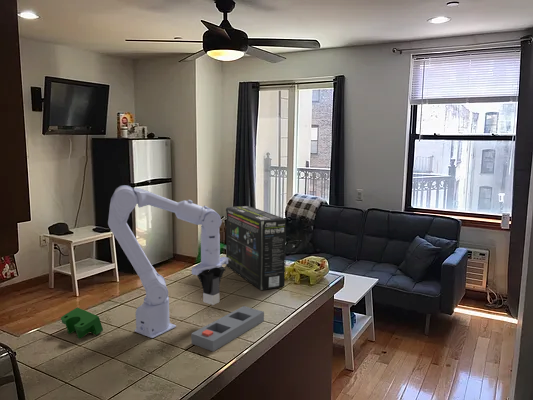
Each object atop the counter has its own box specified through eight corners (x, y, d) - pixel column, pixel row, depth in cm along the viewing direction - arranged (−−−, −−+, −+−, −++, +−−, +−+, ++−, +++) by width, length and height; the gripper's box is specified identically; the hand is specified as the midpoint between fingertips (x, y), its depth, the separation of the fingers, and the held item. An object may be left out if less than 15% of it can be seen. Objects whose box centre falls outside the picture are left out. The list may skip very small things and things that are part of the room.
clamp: (71, 345, 131) (56, 318, 130) (89, 333, 135) (74, 307, 135) (88, 342, 123) (72, 314, 122) (106, 330, 127) (91, 303, 127)
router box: (286, 287, 169) (287, 218, 165) (261, 291, 164) (261, 221, 159) (247, 262, 200) (247, 204, 196) (224, 265, 195) (224, 206, 191)
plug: (213, 305, 134) (212, 279, 133) (203, 302, 136) (202, 277, 135) (219, 302, 136) (219, 277, 135) (209, 299, 138) (209, 274, 137)
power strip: (213, 351, 119) (212, 339, 118) (191, 343, 123) (191, 331, 122) (264, 320, 138) (264, 309, 138) (243, 314, 143) (243, 304, 142)
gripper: (203, 256, 125) (204, 301, 128) (235, 245, 137) (235, 287, 139) (186, 252, 129) (187, 296, 132) (218, 242, 141) (218, 283, 143)
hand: (210, 291), depth 136 cm, fingers closed on plug, 3 cm apart
